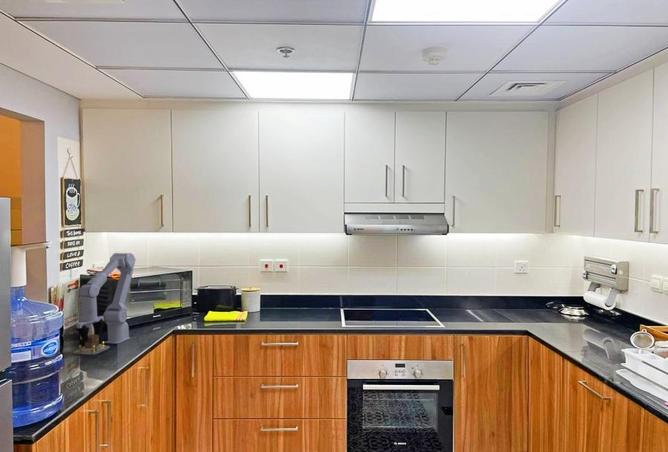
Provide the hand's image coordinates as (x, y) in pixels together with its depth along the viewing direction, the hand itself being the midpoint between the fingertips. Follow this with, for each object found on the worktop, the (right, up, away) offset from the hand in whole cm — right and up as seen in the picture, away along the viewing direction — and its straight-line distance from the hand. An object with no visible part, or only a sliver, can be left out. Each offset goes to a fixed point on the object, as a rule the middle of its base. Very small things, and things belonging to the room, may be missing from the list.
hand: (91, 339), depth 207 cm
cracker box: (-16, -5, +26) cm, 31 cm away
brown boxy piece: (0, -4, 0) cm, 4 cm away
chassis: (0, -5, 0) cm, 5 cm away
